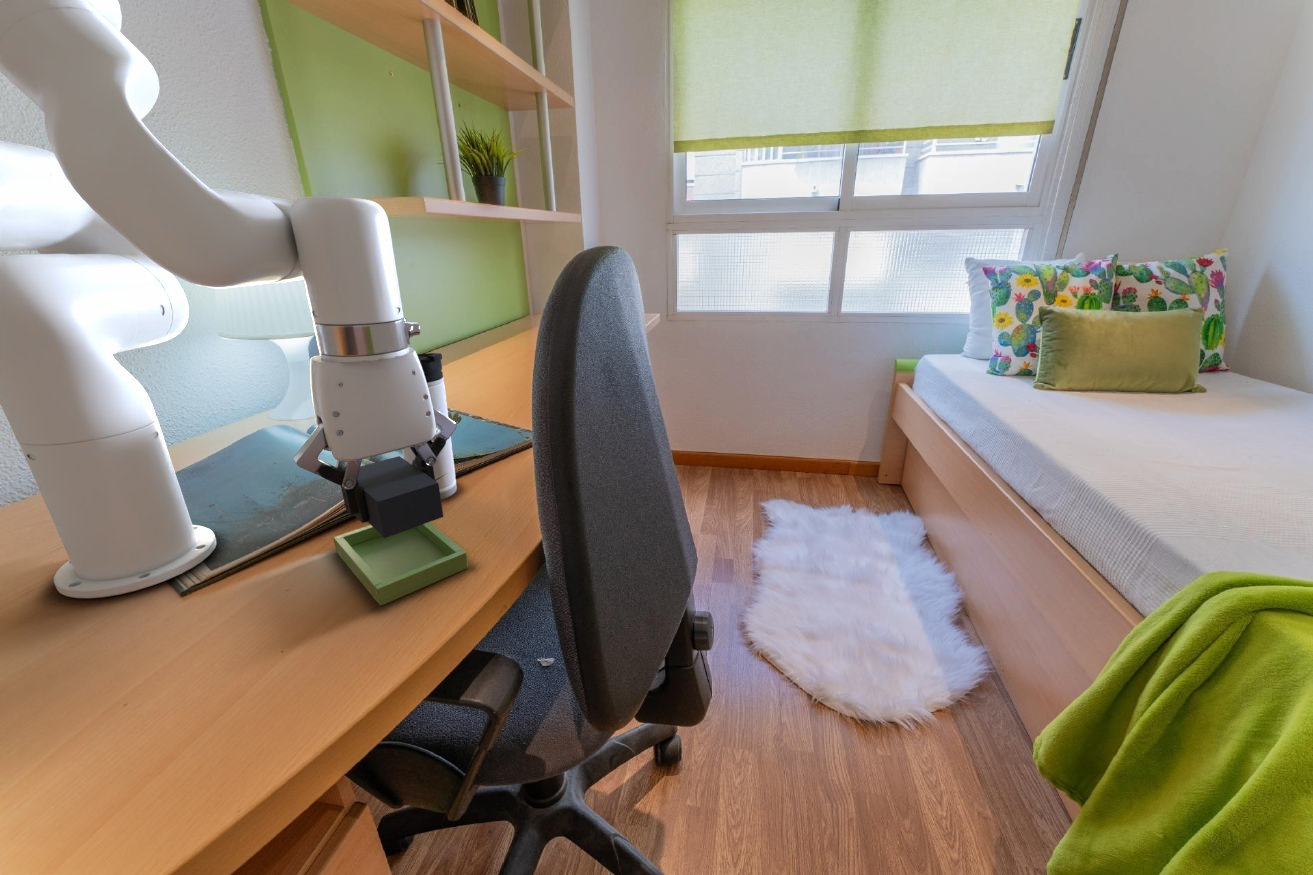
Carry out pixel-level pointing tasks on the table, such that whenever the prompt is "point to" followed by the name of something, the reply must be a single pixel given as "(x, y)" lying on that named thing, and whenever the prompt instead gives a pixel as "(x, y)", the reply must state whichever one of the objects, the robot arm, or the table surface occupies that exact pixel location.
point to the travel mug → (445, 461)
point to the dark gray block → (399, 496)
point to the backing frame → (399, 559)
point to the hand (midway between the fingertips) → (394, 505)
